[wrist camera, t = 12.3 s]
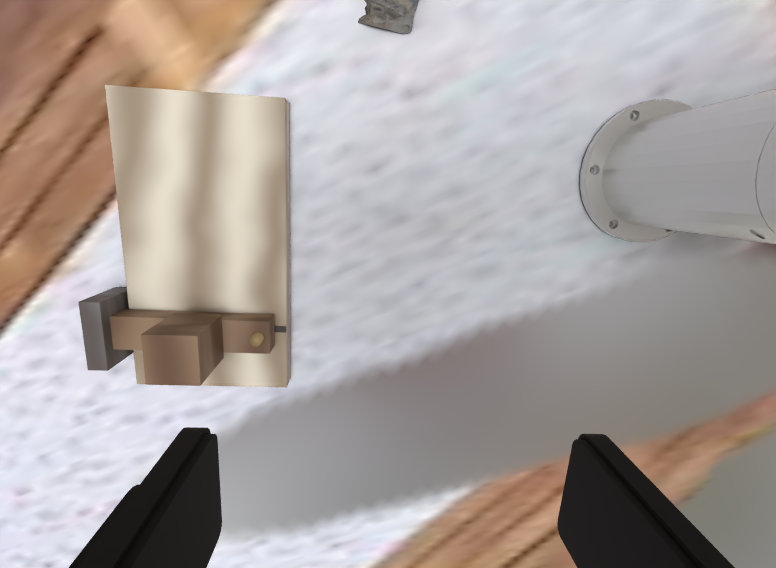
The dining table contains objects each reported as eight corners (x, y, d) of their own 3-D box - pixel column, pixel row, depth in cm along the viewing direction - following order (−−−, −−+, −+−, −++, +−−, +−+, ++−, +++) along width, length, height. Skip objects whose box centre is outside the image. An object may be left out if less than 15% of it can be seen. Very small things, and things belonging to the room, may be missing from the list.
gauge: (278, 293, 37) (252, 325, 29) (279, 351, 39) (254, 398, 30) (115, 287, 36) (38, 317, 28) (122, 347, 38) (50, 394, 29)
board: (289, 102, 34) (284, 97, 32) (290, 377, 40) (286, 387, 38) (120, 91, 33) (104, 84, 31) (148, 374, 39) (136, 384, 37)
